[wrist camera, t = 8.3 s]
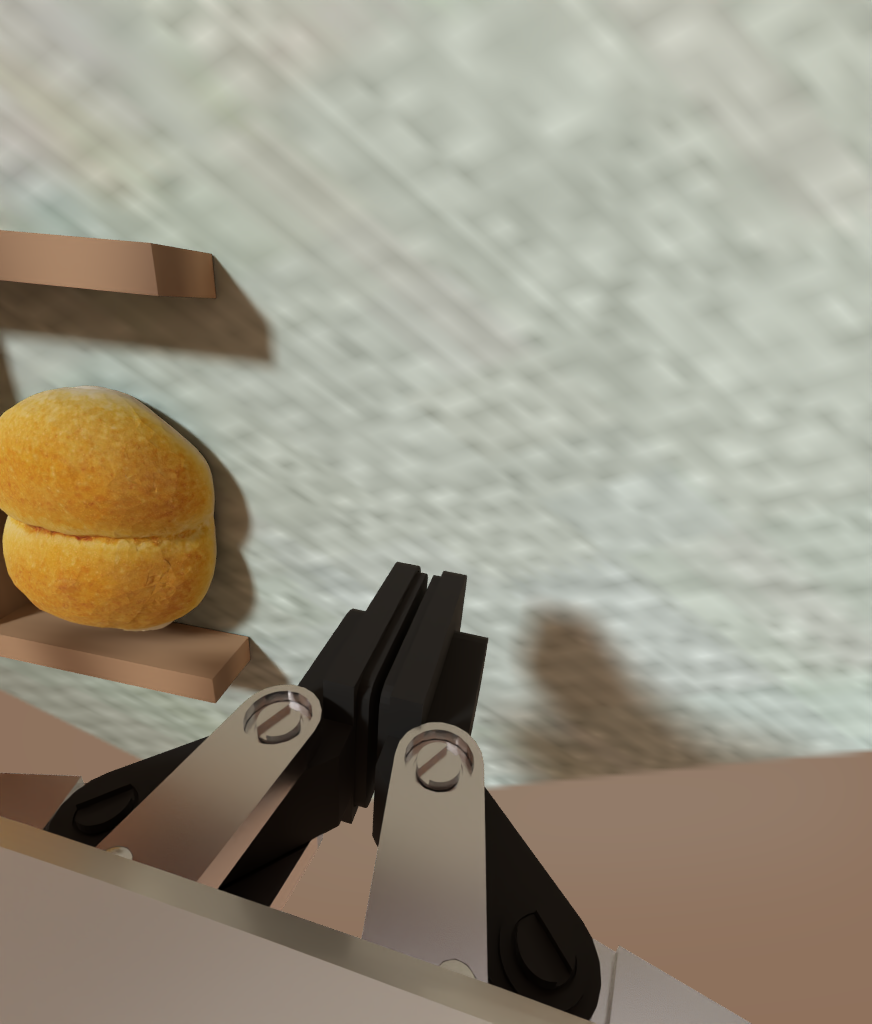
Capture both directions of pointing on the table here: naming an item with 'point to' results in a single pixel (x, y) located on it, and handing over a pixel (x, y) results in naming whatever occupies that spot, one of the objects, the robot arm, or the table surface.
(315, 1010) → the robot arm
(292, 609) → the table surface
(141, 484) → the bread roll
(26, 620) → the frame
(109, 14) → the table surface
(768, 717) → the table surface
